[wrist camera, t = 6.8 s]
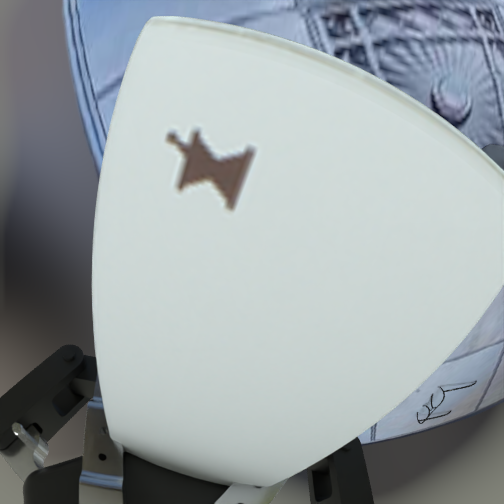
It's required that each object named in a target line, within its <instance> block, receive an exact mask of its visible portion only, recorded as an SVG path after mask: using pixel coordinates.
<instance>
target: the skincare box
mask: <svg viewBox="0 0 504 504" xmlns="http://www.w3.org/2000/svg"><path fill="white" fill-rule="evenodd" d="M92 257H93V258H92V308H93V327H94V341H95V351H96V361H97V369H98V377H99V383H100V389H101V395H102V400H103V405H104V411H105V416H106V421H107V425H108V429H109V434H110V438H112V439H113V440H115V441H117V442H119V443H121V444H123V446H124V448H125V451H126V452H129V453H131V454H133V455H135V456H137V457H139V458H142V459H144V460H146V461H148V462H151V463H153V464H156V465H158V466H161V467H164V468H167V469H169V470H172V471H175V472H178V473H181V474H185V475H188V476H191V477H195V478H198V479H202V480H205V481H209V482H213V483H218V484H222V485H227V486H231V485H232V484H233V483H234V482H237V483H243V484H249V485H254V486H255V487H256V488H261V487H263V486H264V487H268V486H272V485H274V484H276V483H278V482H280V481H282V480H284V479H286V478H289V477H290V476H292V475H294V474H296V473H298V472H300V471H302V470H304V469H306V468H308V467H309V466H311V465H313V464H315V463H316V462H318V461H320V460H322V459H323V458H325V457H327V456H328V455H330V454H332V453H333V452H335V451H336V450H338V449H339V448H341V447H343V446H344V445H346V444H347V443H349V442H350V441H352V440H353V439H355V438H356V437H357V436H359V435H360V434H362V433H363V432H364V431H366V430H367V429H369V428H370V427H371V426H373V425H374V424H375V423H377V422H378V421H379V420H380V419H382V418H383V417H384V416H386V415H387V414H388V413H389V412H390V411H392V410H393V409H394V408H395V407H397V406H398V405H399V404H400V403H401V402H402V401H404V400H405V399H406V398H407V397H408V396H409V395H410V394H411V393H413V392H414V391H415V390H416V389H417V388H418V387H419V386H420V385H421V384H422V383H423V382H424V381H425V380H426V379H427V378H428V377H429V376H430V375H431V374H432V373H433V372H434V371H435V370H436V369H437V368H438V367H439V366H440V365H441V364H442V363H443V362H444V361H445V360H446V359H447V358H448V357H449V356H450V355H451V353H452V352H453V351H454V350H455V349H456V348H457V347H458V345H459V344H460V343H461V342H462V341H463V340H464V338H465V337H466V336H467V335H468V334H469V332H470V331H471V330H472V329H473V327H474V326H475V325H476V324H477V322H478V321H479V320H480V318H481V317H482V316H483V314H484V313H485V312H486V310H487V309H488V307H489V306H490V305H491V303H492V302H493V300H494V299H495V297H496V296H497V294H498V293H499V291H500V290H501V288H502V287H503V285H504V171H503V170H502V169H501V168H500V167H499V166H498V165H497V164H496V163H495V162H494V161H493V160H492V159H491V158H490V157H489V156H488V155H487V154H486V153H485V152H484V151H482V150H481V149H480V148H479V147H478V146H477V145H476V144H475V143H473V142H472V141H471V140H470V139H469V138H467V137H466V136H465V135H464V134H463V133H461V132H460V131H459V130H458V129H456V128H455V127H454V126H453V125H451V124H450V123H449V122H447V121H446V120H445V119H443V118H442V117H440V116H439V115H438V114H436V113H435V112H433V111H432V110H431V109H429V108H428V107H426V106H425V105H423V104H422V103H420V102H419V101H417V100H416V99H414V98H412V97H411V96H409V95H408V94H406V93H404V92H403V91H401V90H399V89H398V88H396V87H394V86H392V85H391V84H389V83H387V82H385V81H383V80H382V79H380V78H378V77H376V76H374V75H372V74H370V73H368V72H366V71H364V70H362V69H360V68H358V67H356V66H354V65H352V64H350V63H347V62H345V61H343V60H341V59H338V58H336V57H334V56H331V55H329V54H327V53H324V52H322V51H319V50H316V49H314V48H311V47H308V46H306V45H303V44H300V43H297V42H294V41H291V40H288V39H285V38H282V37H278V36H275V35H272V34H268V33H265V32H261V31H257V30H253V29H249V28H245V27H240V26H236V25H231V24H226V23H221V22H215V21H209V20H202V19H195V18H187V17H177V16H159V17H152V18H151V19H150V20H148V21H147V22H146V24H145V26H144V28H143V29H142V31H141V33H140V35H139V37H138V39H137V41H136V44H135V46H134V49H133V52H132V54H131V57H130V60H129V63H128V65H127V68H126V71H125V74H124V77H123V81H122V84H121V87H120V90H119V94H118V97H117V101H116V104H115V108H114V112H113V116H112V120H111V124H110V128H109V133H108V137H107V142H106V147H105V152H104V157H103V162H102V168H101V174H100V180H99V187H98V194H97V203H96V213H95V223H94V237H93V256H92Z"/></svg>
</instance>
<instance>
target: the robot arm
mask: <svg viewBox="0 0 504 504" xmlns="http://www.w3.org/2000/svg"><path fill="white" fill-rule="evenodd" d="M482 151H484V152H485V153H486V154H487V155H488V156H489V157H490V158H491V159H492V160H493V161H494V162H495V163H496V164H497V165H498V166H499V167H500V168H501V169H502V170H503V171H504V147H503V146H499V145H494V144H491V145H487V146H486V147H484V148H483V149H482ZM91 398H93V400H90V399H91ZM89 400H90V401H89ZM88 401H89V403H88V408H87V416H86V425H85V434H84V446H83V456H80V457H77V458H75V459H71V460H68V461H65V462H62V463H59V464H55V465H52V466H48V467H45V468H44V466H43V462H44V459H45V457H47V454H48V450H49V448H48V443H47V442H48V441H49V440H50V439H51V438H52V437H53V436H54V435H55V434H56V433H57V432H58V431H59V430H60V429H61V428H62V427H63V426H64V425H65V424H66V423H67V422H68V421H69V420H70V419H71V418H72V417H73V416H74V415H75V414H76V413H77V412H78V411H79V410H80V409H81V408H82V407H83V406H84V405H85V404H86V403H87V402H88ZM0 454H1V455H2V457H3V458H4V459H5V461H6V462H7V463H8V464H9V465H10V467H11V468H12V469H13V470H14V472H15V473H16V474H17V475H18V476H19V478H20V479H21V480H22V481H23V482H24V486H23V495H24V504H270V503H271V501H272V500H273V499H274V497H275V496H276V495H277V493H278V492H279V491H280V489H281V488H282V486H283V485H284V484H285V482H286V481H287V479H288V478H286V479H284V480H282V481H280V482H278V483H276V484H274V485H272V486H268V487H264V486H263V487H261V488H256V487H255V486H254V485H249V484H243V483H237V482H234V483H233V484H232V485H231V486H227V485H222V484H218V483H213V482H209V481H205V480H202V479H198V478H195V477H191V476H188V475H185V474H181V473H178V472H175V471H172V470H169V469H167V468H164V467H161V466H158V465H156V464H153V463H151V462H148V461H146V460H144V459H142V458H139V457H137V456H135V455H133V454H131V453H129V452H126V451H125V448H124V446H123V444H121V443H119V442H117V441H115V440H113V439H112V438H110V434H109V429H108V425H107V421H106V416H105V411H104V405H103V400H102V395H101V389H100V383H99V377H98V369H97V361H96V357H92V356H86V355H83V352H82V350H81V349H80V348H79V347H77V346H75V345H65V346H62V347H61V348H60V349H58V350H57V351H56V352H55V353H53V354H52V355H51V356H50V357H48V358H47V359H46V360H45V361H43V362H42V363H41V364H40V365H39V366H37V367H36V368H35V369H34V370H32V371H31V372H30V373H29V374H28V375H26V376H25V377H24V378H23V379H22V380H20V381H19V382H18V383H17V384H16V385H15V386H13V387H12V388H11V389H10V390H9V391H8V392H7V393H5V394H4V395H3V396H2V397H1V398H0ZM307 474H308V483H309V492H310V501H311V504H374V501H373V496H372V491H371V486H370V482H369V477H368V473H367V468H366V463H365V459H364V455H363V450H362V446H361V442H360V440H359V438H358V437H356V438H355V439H353V440H352V441H350V442H349V443H347V444H346V445H344V446H343V447H341V448H339V449H338V450H336V451H335V452H333V453H332V454H330V455H328V456H327V457H325V458H323V459H322V460H320V461H318V462H316V463H315V464H313V465H311V466H309V467H308V468H307Z"/></svg>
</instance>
